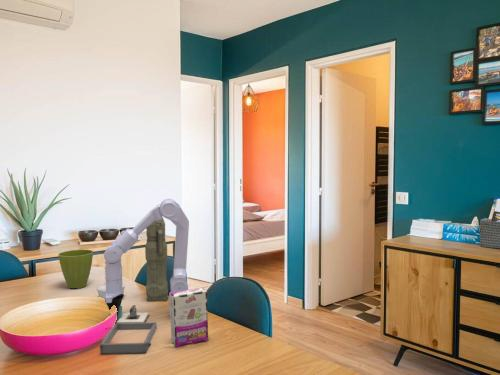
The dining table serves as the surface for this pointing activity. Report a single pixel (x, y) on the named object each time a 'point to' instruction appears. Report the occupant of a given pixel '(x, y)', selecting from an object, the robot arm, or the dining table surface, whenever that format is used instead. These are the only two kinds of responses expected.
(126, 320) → the cream ring
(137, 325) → the charcoal tray
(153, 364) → the dining table surface
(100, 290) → the ramekin
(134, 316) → the metal T-head stake
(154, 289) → the stone pillar statue
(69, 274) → the flower pot
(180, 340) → the candy bar box
